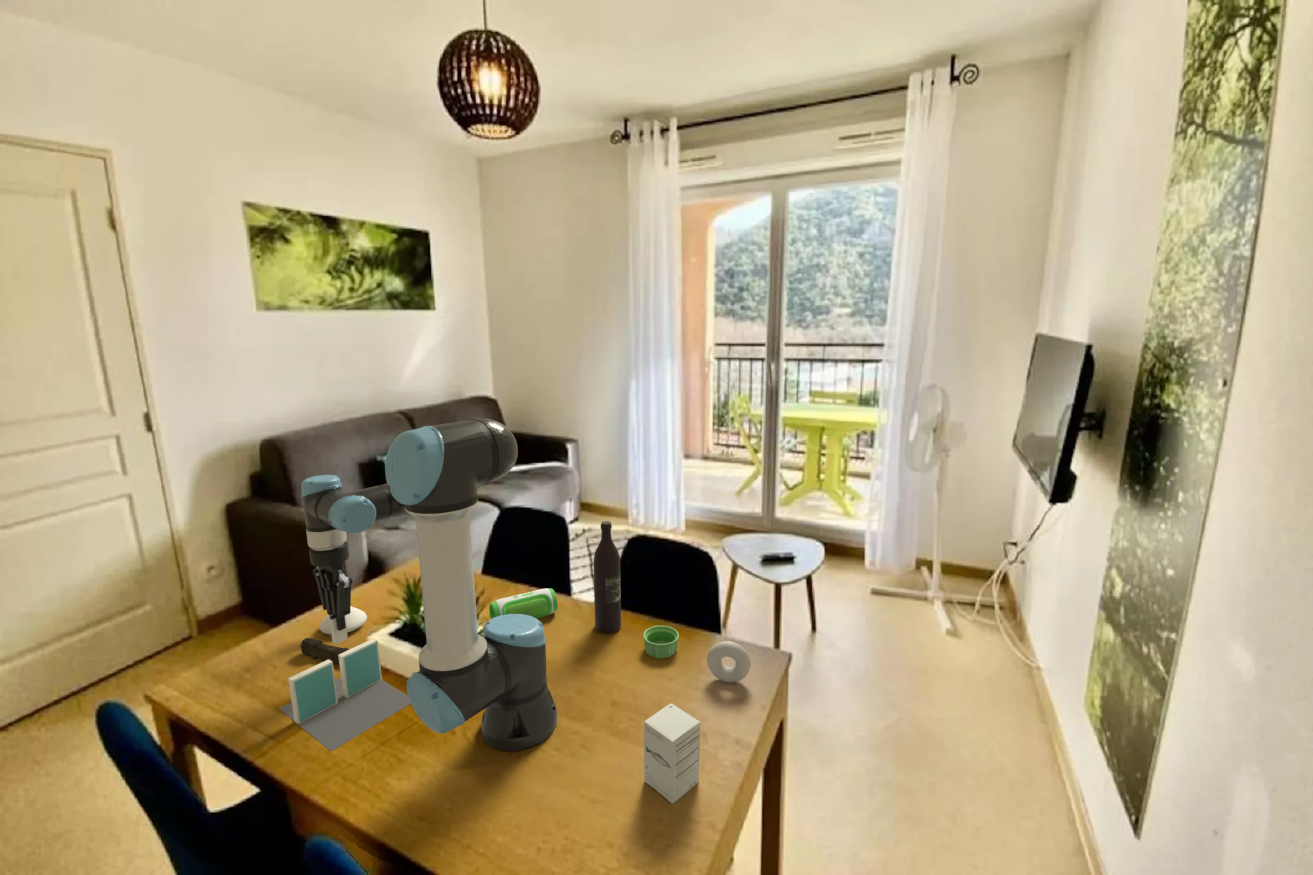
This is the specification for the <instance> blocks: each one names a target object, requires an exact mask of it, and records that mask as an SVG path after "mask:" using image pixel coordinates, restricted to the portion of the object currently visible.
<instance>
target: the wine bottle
mask: <svg viewBox="0 0 1313 875" xmlns="http://www.w3.org/2000/svg"><path fill="white" fill-rule="evenodd" d="M612 526H613V525H612V522H611V521H609V520H605V521H603V520H602V521H601V523H600V530H601V535H600V536H601V537H600V541H599V544H598V546H597V547H596V549H595V551H594V556H593V588H594V591H593V592H594V594H593V595H594V596H593V597H594V599H593V600H594V627H595V630H596V631H597V632H599V633H602V634H613V633H615V632H618V631H619V630H620V629H621V627H622V604H621V602H622V599H621V596H622V595H621V593H622V591H621V590H622V589H621V558H620V557H621V556H620V552H619V551H618V548H617V546H616V545H615V543H614V541H613V537H612V528H613V527H612Z"/></svg>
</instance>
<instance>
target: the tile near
mask: <svg viewBox="0 0 1313 875" xmlns="http://www.w3.org/2000/svg"><path fill="white" fill-rule="evenodd" d="M287 680H288V686H289V692H290V693H289V694H290V701H291V702H292V708H293V714H294V721H295V722H294V721H293V722H294V723H295V724H297V725H298V724H300V723H302V722H304V721H306V720H308V719H309V718H311V717H313V716H315V715H317V714H319V713H321V712H323V711H324V710H326V709H328V708H330V707H332V706H334V705H336V704H337V703H338V700H337V692H336V684H335V680H336V678H335V670H334V662H332V661H331V660H329V659H328V660H324V661H322V662H320V663H318V664H316V665H313V666H311V667H309V668H308V669H305V670H303V671H301V672H298V673H297V674H294V675H292V676H290V677H288V679H287Z"/></svg>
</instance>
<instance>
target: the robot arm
mask: <svg viewBox="0 0 1313 875" xmlns="http://www.w3.org/2000/svg"><path fill="white" fill-rule="evenodd" d="M518 447H519V446H518V443H517V439H516V438H515V435H514V433H512V431H511V430H510V429H509V428H508V427H507V426H506V425H504V424H503V423H501V422H499V421H496V420H493V419H491V418H473V419H469V420H468V419H467V420H461V421H454V422H448V423H442V424H441V423H440V424H435V425H424V426H422V427H421V426H420V427H419V428H415V429H410V430H407V431H403V432H400V434H398V435H397V436H396V437H395V438H394V440H393V442H392V443H391V444H389V447H388V449H387V450H388V451H387V453H386V458H385V465H384V466H385V467H384V470H385V471H384V472H385V480H386V483H384V484H380V485H375V486H372V487H367V488H362V489H359V490H358V489H357V490H354V491H345V490H343V489H342V488H343V485H342V482H341V478H340V477H339V476H338V475H336V474H320V475H314V476H311V477H308V478H305V479H304V480H303V481H302V482H301V483H300V484H301V486H300V487H301V496H300V497H301V501H302V506H303V507H302V508H303V513H304V520H305V528H306V529H305V532H306V538H307V539H306V540H307V545H308V547H309V561H310V564H311V566H313V567H316V568H314V569H312V573H313V576H314V577H315V580H316V585H317V590H318V593H319V598H320V601H321V602H320V603H321V606H322V610H323V611H326V613H327V615H330V616H329V618H330V626H331V634H332V635H331V639H332V643H333V644H334V645H338V644H340V643H342V642H345V641H346V640H349V638H348V637H349V636H348V632H347V628H346V620H345V615H348V614H350V607H352V606H351V605H352V604H351V603H352V602H351V601H352V599H351V597H352V585H353V583H354V581H353V578H352V577H348V579H347V578H346V577H347V576H346V569H345V567H344V563H345V562H346V561H347V560H348V559H349V558H350V551H349V543H348V542H347V540H348V537H347V533H349V534H361V533H363V532H365V531H367V530H368V529H369V528H370V527H371V526H373V524H374V523H376V522H380V521H383V520H386V519H389V518H394V517H396V516H401V515H404V514H406V513H407V514H409V515H410V516H412V517H413V518H415V528H416V536H417V548H418V549H417V550H418V559H419V560H418V561H419V571H420V583H421V592H422V593H421V594H422V595H421V596H422V603H423V604H422V605H423V615H424V617H423V618H424V628H425V637H426V644H425V645H424V646H423V647H422V649H421V650H420V651H419V654H418V666H419V670H418V671H417V672H413V673H412V674H411V675H410V676H409V678H408V679H407V681H406V694H407V695H408V697H409V700H410V702H411V704H410V705H411V706H412V708H413V710H414V712H415V713H416V715H417V717H418V718H419V719H420V720H421V722H422V723H423V724H424V725H425V726H426V727H427V728H428V729H430V730H431V731H433V732H435V733H437V734H446V733H449V732H451V731H452V730H454V729H456V728H457V727H458V728H459V726H463V725H464V724H465V723H466V722H467V721H469V720H470V719H472V718H473V717H475V716H476V715H477V714H479V713H480V712H482V711H483V710H484V711H483V713H482V717H481V722H480V725H481V734H482V735H481V736H482V738H483V740H484V742H486V744H488V745H489V746H490V747H491V748H494V749H497V750H500V751H509V752H514V751H522V750H526V749H530V748H532V747H535V746H537V745H538V744H540V743H542V742H544V741H546V739H548V737H550V735H551V734H552V733H553V732H554V730H555V729H556V727H557V722H558V713H557V712H558V709H557V706H556V702H555V701H554V698H553V696H552V693H551V691H550V689H549V687H548V681H547V680H548V678H547V652H546V651H547V650H546V649H547V648H546V643H547V638H546V637H545V628H544V625H543V623H542V622H541V621H540V620H539V619H536V618H534V617H532V616H528V615H523V614H506V615H501V616H497V617H494V618H492V619H491V618H490V619H489V620H488V621H486V622H485V625H484V626H483V630H482V634H484V635H481V634H479V633H478V632H479V631H478V619H477V618H478V617H477V605H476V604H477V603H476V590H475V589H476V588H475V578H474V577H475V576H474V574H475V573H474V562H473V559H474V558H473V546H472V532H471V517H470V515H471V514H470V512H471V511H472V509H474V507H476V505H477V504H478V502H479V497H478V487H479V486H481V485H486V484H489V483H492V482H494V481H497V480H499V479H501V478H503V477H504V476H507V474H508V473H509V472H511V470H512V469H513V468H514V467H515V464H516V462H517V459H518V453H519V452H518V451H519V449H518ZM317 567H318V568H317Z"/></svg>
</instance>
